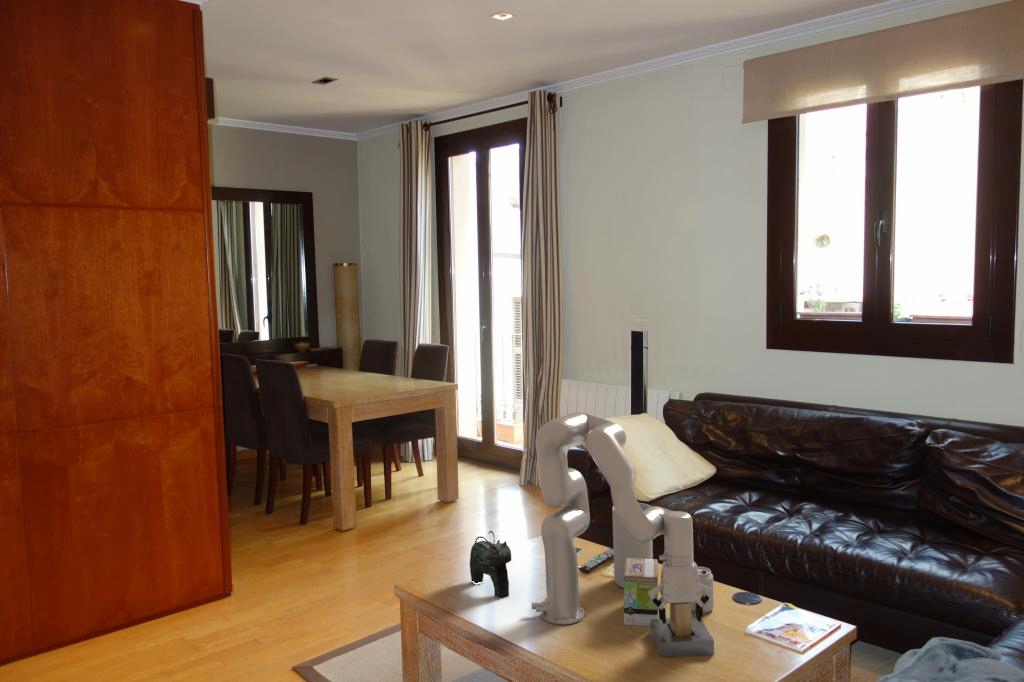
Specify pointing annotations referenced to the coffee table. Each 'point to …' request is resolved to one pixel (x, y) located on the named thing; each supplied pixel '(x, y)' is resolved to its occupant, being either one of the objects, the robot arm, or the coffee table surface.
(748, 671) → the coffee table surface
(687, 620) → the skincare box
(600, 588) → the coffee table surface
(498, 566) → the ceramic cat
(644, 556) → the cylinder vase
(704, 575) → the can
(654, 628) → the holder
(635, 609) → the tea box
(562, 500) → the robot arm
